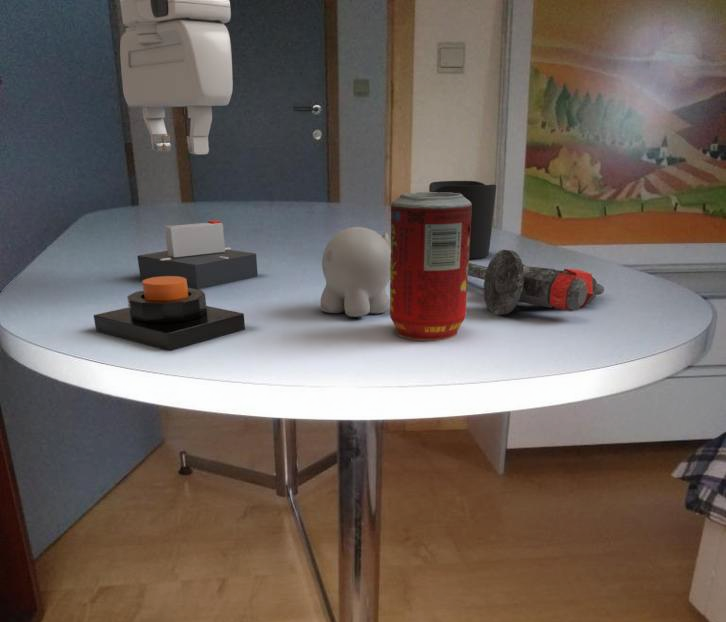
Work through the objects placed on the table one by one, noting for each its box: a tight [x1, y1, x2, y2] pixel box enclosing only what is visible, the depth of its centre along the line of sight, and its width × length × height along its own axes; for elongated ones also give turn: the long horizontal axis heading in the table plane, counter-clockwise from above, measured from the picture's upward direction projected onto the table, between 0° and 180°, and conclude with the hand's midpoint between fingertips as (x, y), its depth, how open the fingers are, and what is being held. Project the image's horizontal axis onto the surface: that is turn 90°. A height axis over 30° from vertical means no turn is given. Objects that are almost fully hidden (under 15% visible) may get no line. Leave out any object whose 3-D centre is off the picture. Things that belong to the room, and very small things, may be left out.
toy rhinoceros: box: [319, 226, 391, 318], centre depth 75 cm, size 7×12×8 cm, turn 133°
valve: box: [468, 249, 605, 316], centre depth 81 cm, size 6×26×15 cm
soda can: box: [389, 191, 472, 342], centre depth 65 cm, size 7×7×12 cm
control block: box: [93, 288, 246, 352], centre depth 68 cm, size 11×9×4 cm
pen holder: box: [428, 180, 497, 261], centre depth 104 cm, size 9×9×10 cm
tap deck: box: [137, 247, 259, 290], centre depth 91 cm, size 11×11×3 cm
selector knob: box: [164, 219, 226, 258], centre depth 90 cm, size 7×2×4 cm, turn 127°
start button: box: [141, 276, 189, 301], centre depth 67 cm, size 4×4×2 cm
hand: (179, 152), depth 81 cm, fingers open, 8 cm apart
